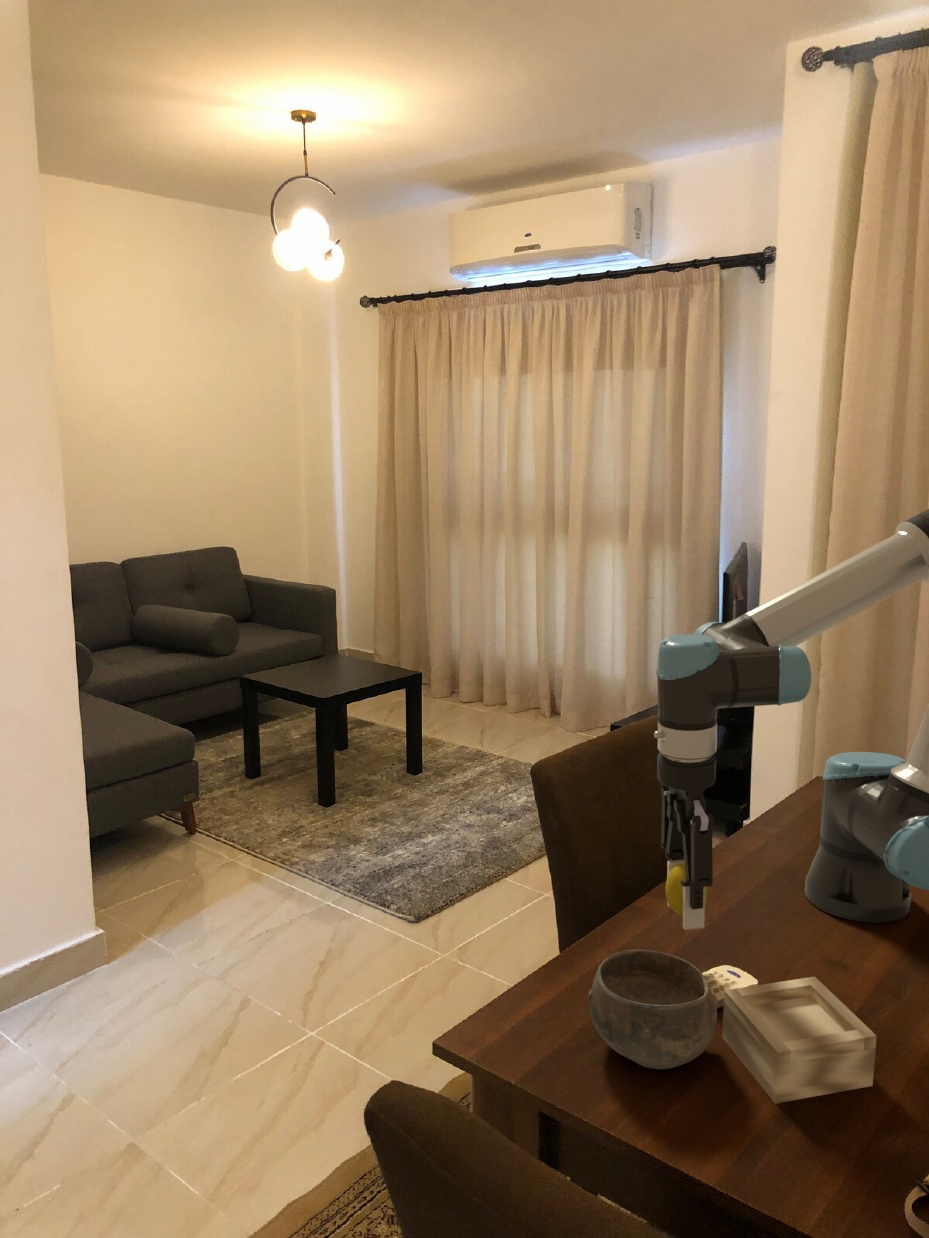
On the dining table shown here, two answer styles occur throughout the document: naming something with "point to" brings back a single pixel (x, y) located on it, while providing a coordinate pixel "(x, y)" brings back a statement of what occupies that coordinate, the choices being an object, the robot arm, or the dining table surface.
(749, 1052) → the birch box
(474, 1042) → the dining table surface
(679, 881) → the lemon
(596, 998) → the bowl
